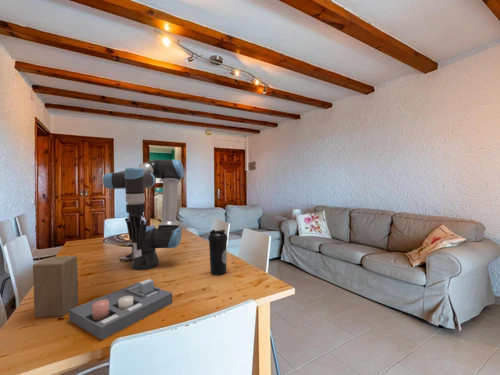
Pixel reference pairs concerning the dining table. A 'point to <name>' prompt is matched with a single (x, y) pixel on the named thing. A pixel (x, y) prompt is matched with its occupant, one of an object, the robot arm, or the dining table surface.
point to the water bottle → (218, 252)
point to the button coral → (100, 310)
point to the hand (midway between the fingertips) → (137, 256)
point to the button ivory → (125, 302)
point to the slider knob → (146, 286)
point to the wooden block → (55, 286)
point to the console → (117, 317)
